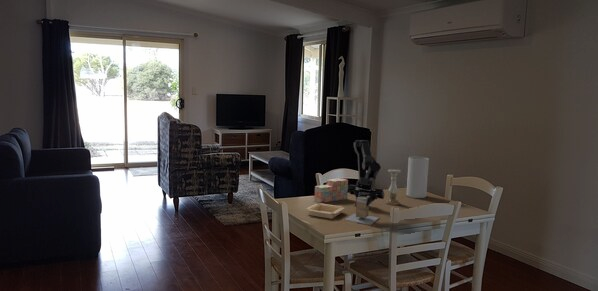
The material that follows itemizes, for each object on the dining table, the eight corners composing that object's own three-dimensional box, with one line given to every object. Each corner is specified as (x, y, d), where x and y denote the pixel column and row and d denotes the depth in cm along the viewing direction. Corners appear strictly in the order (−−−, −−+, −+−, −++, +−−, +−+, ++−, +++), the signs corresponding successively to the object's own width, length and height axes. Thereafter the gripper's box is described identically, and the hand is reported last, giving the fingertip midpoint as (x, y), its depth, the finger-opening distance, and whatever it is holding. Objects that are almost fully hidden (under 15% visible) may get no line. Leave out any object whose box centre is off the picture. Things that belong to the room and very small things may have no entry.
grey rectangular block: (359, 214, 239) (360, 195, 237) (368, 215, 236) (369, 197, 235) (355, 216, 234) (356, 197, 233) (365, 218, 232) (366, 199, 231)
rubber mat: (353, 214, 245) (353, 213, 245) (379, 218, 239) (379, 217, 239) (344, 220, 232) (344, 219, 232) (370, 225, 226) (370, 224, 226)
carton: (317, 208, 254) (317, 202, 254) (345, 213, 246) (346, 207, 246) (303, 215, 239) (303, 209, 238) (333, 221, 231) (334, 214, 231)
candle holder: (390, 205, 267) (392, 171, 265) (382, 202, 275) (384, 169, 273) (402, 204, 270) (404, 171, 268) (394, 201, 278) (396, 168, 276)
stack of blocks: (320, 203, 268) (321, 182, 266) (314, 201, 273) (314, 181, 271) (347, 199, 280) (348, 179, 279) (340, 197, 285) (341, 177, 284)
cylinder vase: (415, 193, 303) (417, 156, 300) (430, 197, 293) (432, 158, 290) (402, 195, 295) (404, 157, 292) (417, 199, 285) (420, 160, 282)
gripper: (349, 169, 240) (341, 194, 232) (384, 173, 232) (376, 199, 223) (354, 181, 248) (346, 205, 240) (387, 186, 240) (380, 211, 231)
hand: (361, 205), depth 233 cm, fingers open, 5 cm apart
